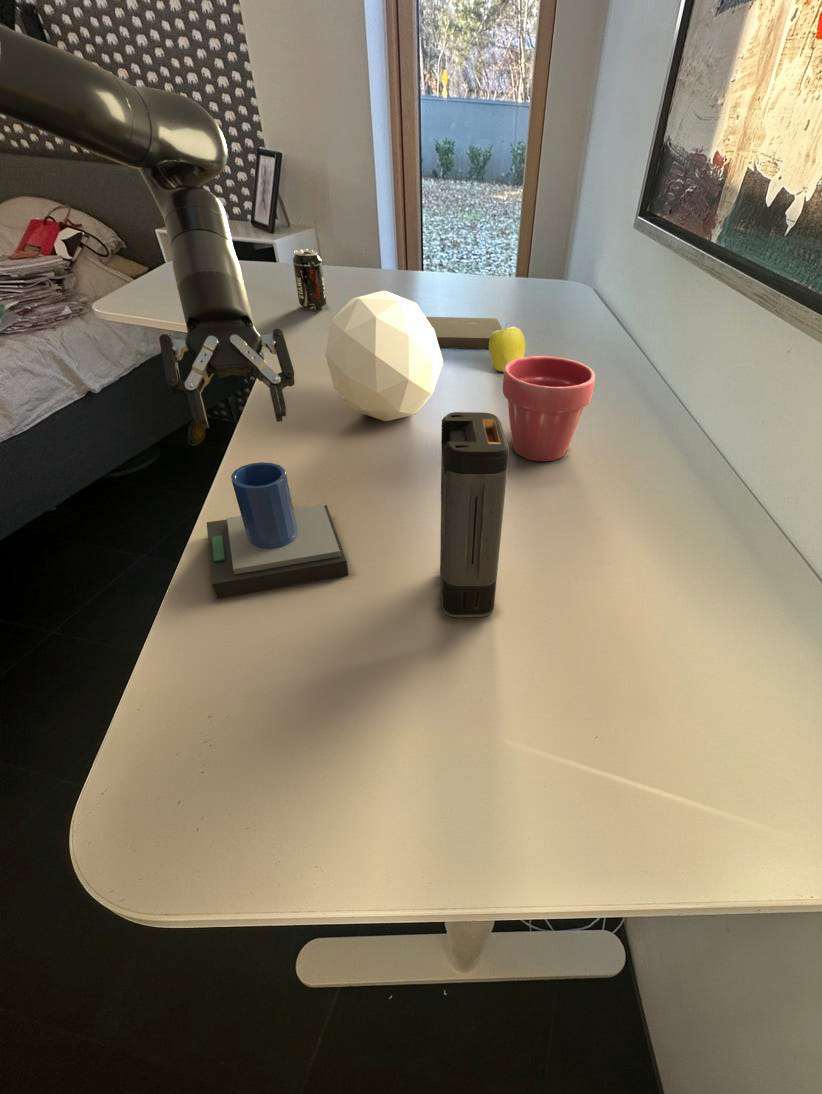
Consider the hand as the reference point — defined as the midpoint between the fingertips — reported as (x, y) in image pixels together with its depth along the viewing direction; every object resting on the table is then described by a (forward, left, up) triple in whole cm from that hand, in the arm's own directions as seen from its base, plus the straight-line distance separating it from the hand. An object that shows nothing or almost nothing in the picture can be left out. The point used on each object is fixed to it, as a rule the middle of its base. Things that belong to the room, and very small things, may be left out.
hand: (243, 422), depth 68 cm
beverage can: (+22, +96, -13) cm, 100 cm away
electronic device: (+20, -24, -13) cm, 34 cm away
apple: (+54, +44, -13) cm, 71 cm away
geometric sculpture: (+24, +28, -13) cm, 40 cm away
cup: (0, -10, -10) cm, 14 cm away
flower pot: (+45, +8, -13) cm, 48 cm away
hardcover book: (+50, +66, -13) cm, 84 cm away
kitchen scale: (0, -10, -13) cm, 16 cm away
